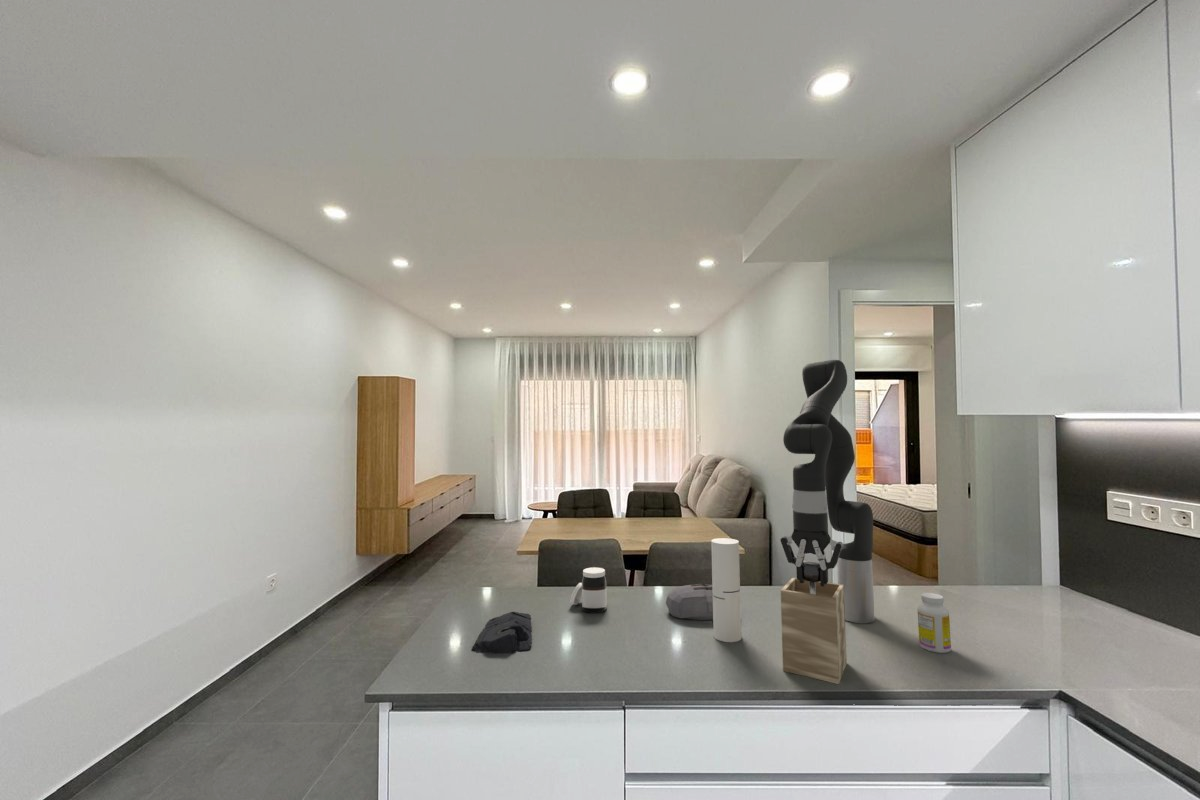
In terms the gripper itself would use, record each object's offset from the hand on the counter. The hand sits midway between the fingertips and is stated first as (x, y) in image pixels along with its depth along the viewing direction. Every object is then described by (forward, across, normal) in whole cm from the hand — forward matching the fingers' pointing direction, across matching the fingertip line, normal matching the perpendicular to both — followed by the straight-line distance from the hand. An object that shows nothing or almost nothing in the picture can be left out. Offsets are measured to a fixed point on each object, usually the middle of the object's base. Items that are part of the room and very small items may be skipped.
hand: (812, 583), depth 119 cm
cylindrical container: (+19, +23, -6) cm, 31 cm away
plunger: (+18, 0, 0) cm, 18 cm away
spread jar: (+19, +67, -5) cm, 70 cm away
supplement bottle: (+19, -23, -26) cm, 40 cm away
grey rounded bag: (+19, +36, -18) cm, 45 cm away
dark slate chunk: (+20, +74, +24) cm, 80 cm away
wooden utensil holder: (+19, 0, 0) cm, 19 cm away
